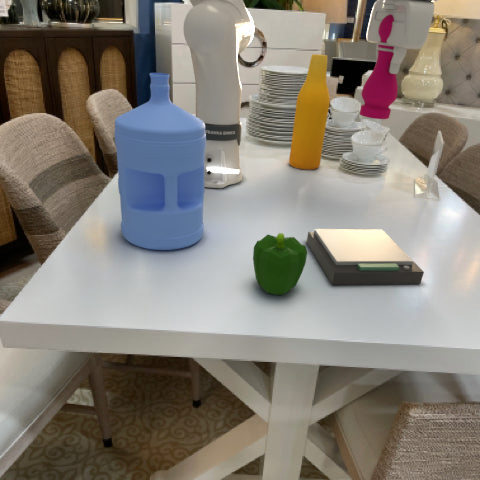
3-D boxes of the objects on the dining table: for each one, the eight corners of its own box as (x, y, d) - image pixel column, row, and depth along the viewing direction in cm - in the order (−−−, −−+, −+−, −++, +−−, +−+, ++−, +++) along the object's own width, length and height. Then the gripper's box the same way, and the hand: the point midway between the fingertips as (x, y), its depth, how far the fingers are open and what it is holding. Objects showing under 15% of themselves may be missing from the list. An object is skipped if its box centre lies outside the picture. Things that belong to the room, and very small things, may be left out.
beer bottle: (321, 171, 137) (339, 57, 121) (289, 168, 137) (303, 55, 121) (317, 162, 145) (334, 55, 129) (287, 160, 145) (300, 52, 129)
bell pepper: (267, 270, 82) (273, 215, 77) (308, 285, 79) (318, 229, 73) (239, 288, 76) (244, 230, 71) (283, 306, 73) (292, 246, 67)
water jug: (115, 222, 95) (102, 66, 80) (190, 217, 100) (191, 69, 85) (130, 256, 83) (119, 79, 68) (214, 247, 89) (221, 82, 73)
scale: (332, 285, 79) (335, 268, 78) (306, 242, 93) (308, 227, 92) (420, 284, 82) (425, 267, 80) (382, 243, 96) (386, 228, 94)
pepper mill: (392, 121, 97) (422, 5, 86) (357, 116, 98) (382, 1, 87) (389, 115, 103) (417, 6, 92) (356, 111, 104) (380, 2, 93)
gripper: (367, -12, 96) (353, 65, 104) (412, -15, 79) (392, 77, 87) (396, -9, 97) (380, 66, 105) (446, -12, 80) (423, 79, 88)
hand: (386, 71), depth 96 cm, fingers closed on pepper mill, 5 cm apart
